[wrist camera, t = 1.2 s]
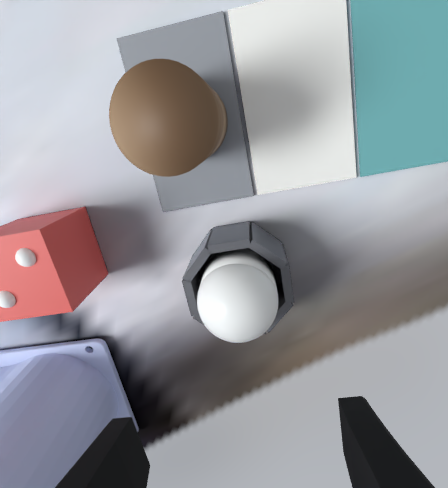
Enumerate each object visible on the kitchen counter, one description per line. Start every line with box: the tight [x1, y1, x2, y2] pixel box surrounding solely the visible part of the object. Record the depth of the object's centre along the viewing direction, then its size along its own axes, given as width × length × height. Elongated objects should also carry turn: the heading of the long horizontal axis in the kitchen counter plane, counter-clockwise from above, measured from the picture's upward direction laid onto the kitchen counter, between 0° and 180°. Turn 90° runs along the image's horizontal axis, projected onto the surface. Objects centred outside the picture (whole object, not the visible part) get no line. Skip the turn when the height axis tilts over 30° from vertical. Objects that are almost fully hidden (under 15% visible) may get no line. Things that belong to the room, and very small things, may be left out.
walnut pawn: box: [109, 59, 228, 177], centre depth 13 cm, size 4×4×5 cm
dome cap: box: [197, 249, 278, 343], centre depth 14 cm, size 4×4×4 cm
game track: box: [117, 0, 448, 212], centre depth 15 cm, size 15×8×1 cm, turn 101°
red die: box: [0, 207, 108, 322], centre depth 16 cm, size 4×4×4 cm
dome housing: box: [182, 221, 294, 334], centre depth 16 cm, size 5×5×3 cm
